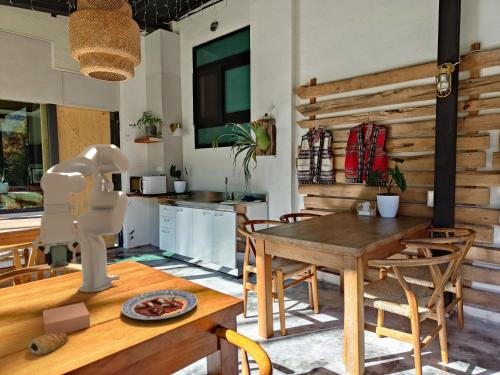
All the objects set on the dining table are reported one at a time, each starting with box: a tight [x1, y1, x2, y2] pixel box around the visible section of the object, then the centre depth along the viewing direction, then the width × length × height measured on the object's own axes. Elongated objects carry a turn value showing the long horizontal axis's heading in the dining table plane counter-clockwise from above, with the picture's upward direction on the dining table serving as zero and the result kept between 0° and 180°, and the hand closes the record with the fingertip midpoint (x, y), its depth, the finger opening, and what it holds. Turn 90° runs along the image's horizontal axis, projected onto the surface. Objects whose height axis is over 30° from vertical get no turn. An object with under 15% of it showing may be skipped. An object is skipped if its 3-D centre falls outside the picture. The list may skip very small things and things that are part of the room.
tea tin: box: [49, 243, 70, 269], centre depth 118 cm, size 6×6×7 cm
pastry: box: [28, 333, 69, 356], centre depth 99 cm, size 9×7×4 cm
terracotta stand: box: [42, 301, 91, 335], centre depth 112 cm, size 12×12×4 cm
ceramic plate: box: [121, 289, 198, 321], centre depth 124 cm, size 26×26×3 cm
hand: (59, 262), depth 118 cm, fingers closed on tea tin, 5 cm apart
